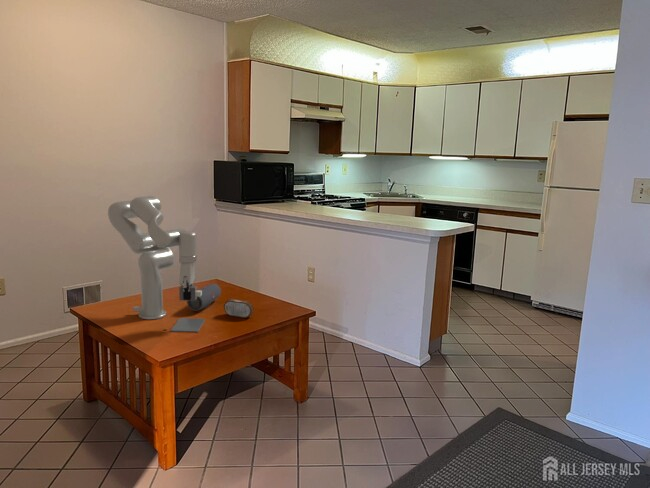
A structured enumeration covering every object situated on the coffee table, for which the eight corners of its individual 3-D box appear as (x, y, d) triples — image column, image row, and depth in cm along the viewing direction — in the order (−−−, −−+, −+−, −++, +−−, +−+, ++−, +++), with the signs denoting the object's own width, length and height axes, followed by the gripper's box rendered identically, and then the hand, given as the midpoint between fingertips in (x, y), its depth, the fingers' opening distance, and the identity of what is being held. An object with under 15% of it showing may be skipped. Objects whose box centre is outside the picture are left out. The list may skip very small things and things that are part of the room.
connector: (179, 300, 217) (179, 287, 216) (181, 297, 221) (181, 285, 220) (200, 301, 218) (200, 288, 217) (202, 298, 221) (202, 285, 220)
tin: (253, 317, 237) (254, 301, 235) (251, 319, 234) (251, 303, 232) (225, 313, 240) (226, 297, 239) (222, 315, 237) (223, 299, 236)
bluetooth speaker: (203, 314, 238) (203, 294, 236) (186, 312, 240) (185, 292, 238) (222, 301, 260) (222, 283, 258) (206, 299, 261) (206, 281, 260)
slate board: (170, 331, 213) (170, 330, 213) (179, 319, 229) (179, 318, 229) (197, 332, 214) (197, 331, 214) (204, 320, 230) (204, 318, 230)
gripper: (183, 254, 224) (184, 292, 227) (174, 262, 207) (175, 303, 211) (200, 255, 224) (200, 293, 227) (192, 263, 208) (192, 304, 211)
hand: (188, 297), depth 219 cm, fingers closed on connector, 3 cm apart
